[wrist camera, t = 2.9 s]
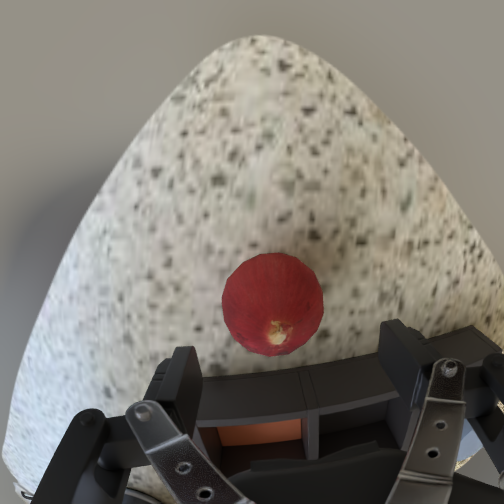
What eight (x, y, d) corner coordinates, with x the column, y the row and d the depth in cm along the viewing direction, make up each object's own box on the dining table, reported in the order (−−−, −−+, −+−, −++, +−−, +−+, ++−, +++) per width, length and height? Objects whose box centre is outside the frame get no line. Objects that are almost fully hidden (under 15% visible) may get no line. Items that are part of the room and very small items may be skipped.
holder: (216, 445, 25) (212, 485, 20) (194, 377, 23) (183, 420, 18) (453, 395, 24) (475, 423, 19) (472, 324, 22) (503, 349, 17)
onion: (311, 316, 21) (339, 383, 14) (231, 323, 21) (224, 395, 14) (308, 237, 20) (343, 274, 12) (222, 245, 20) (205, 287, 12)
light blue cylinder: (405, 405, 23) (443, 469, 15) (413, 365, 22) (463, 431, 13) (446, 390, 23) (488, 446, 15) (456, 351, 22) (510, 405, 13)
